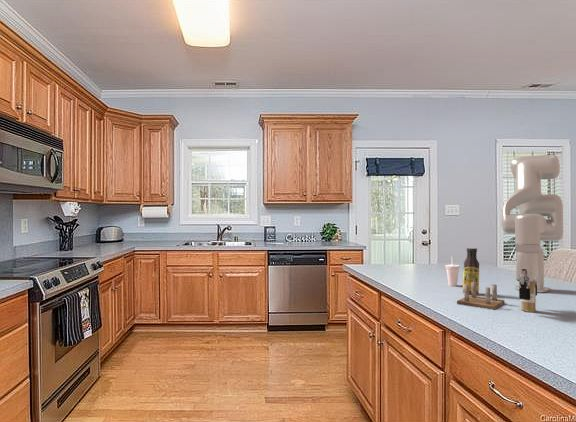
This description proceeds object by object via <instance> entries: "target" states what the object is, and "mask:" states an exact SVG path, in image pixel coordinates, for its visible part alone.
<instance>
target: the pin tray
mask: <svg viewBox="0 0 576 422" xmlns="http://www.w3.org/2000/svg"><path fill="white" fill-rule="evenodd" d="M497 288H498V286H497V284H491V287H487V286H485V288H484V289H485V291H484V292H485V297H483V296H477V295H476V282H471V289H472V295H470V294H469V285H464V293H463V294H464V296H463V298H460V299H458V300H457V301H456V305H462V306H467V307H474V308H479V307H480V308H481V309H486V308H487V310H492V311H493V310H496V309H497V308H499V307H501V306H503V305H504V304H505V303H506V302H505V299H498V291H497ZM480 308H479V309H480Z"/></svg>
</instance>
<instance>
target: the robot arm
mask: <svg viewBox="0 0 576 422" xmlns="http://www.w3.org/2000/svg"><path fill="white" fill-rule="evenodd" d="M509 164H510V170H511V173H512V175H513V177H514V179H515V192H513V194H511V195H510V196H509V197H508V198H506V200H505V202H504V203H503V205H502V209H501V224H500V225H501V229H502V230H503V232H504V233H505V234H511V235H512V234H514V241H515V242H514V243H515V247H514V249H515V251H514V252H515V254H516V265H515V270H516V271H515V280H516V281H517V282H518V284H516V285H515V286H514V289H515V290H517V291H519V292H518V293H519V294H518V295H519V297H518V298H519V299H520V300H521V299H523V300H530V288H529V285H530V282H533V281H534V280H535V292H536V297H537V295H538V293H547V292H549V290H550V289H549V288H548V287H546V286H545V262H544V261H545V260H544V259H545V258H544V257H545V256H544V255H545V254H544V250H543V248H542V247H541V242H558V241H561V240H562V238H563V237H564V216H563V215H564V211H563V210H564V209H563V207H564V206H563V200H562V198H561V196H560V195H558V194H553V193H551V194H548V193H547V194H542V180H555V179H557V178H558V177H559V175H560V172H561V171H560V170H561V164H560V159H559V156H557V155H556V154H544V155H528V156H519V157H516V158H513V159H511V161H510V163H509ZM516 207H518V209H519V213H511V212H512V211H513V210H514V209H515V208H516ZM545 217H549V218H545ZM526 274H527V275H526ZM535 276H536V279H535ZM526 283H527V284H526Z"/></svg>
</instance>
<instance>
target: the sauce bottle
mask: <svg viewBox="0 0 576 422" xmlns="http://www.w3.org/2000/svg"><path fill="white" fill-rule="evenodd" d="M477 253H478V248H477V247H466V259H465V260H464V261H463V272H462V273H463V274H462V277H463V278H462V292H463V294H464V285H469V295H470V296H472V289H471V282H476V296H477V295H479V293H480V292H479V291H480V262H479V260H478V258H477Z"/></svg>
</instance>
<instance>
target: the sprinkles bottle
mask: <svg viewBox="0 0 576 422" xmlns="http://www.w3.org/2000/svg"><path fill="white" fill-rule="evenodd" d="M526 275H527V274H526ZM535 279H536V276H535ZM526 284H527V283H526ZM529 288H530V300H523V299H520V301H521V304H520V305H521V308H520V310H521V311H522V312H526V313H535V312H536V311H537V309H536V307H537V306H536V304H537V299H536V297H537V296H536V292H535V280H534V281H533V282H530V285H529Z"/></svg>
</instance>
